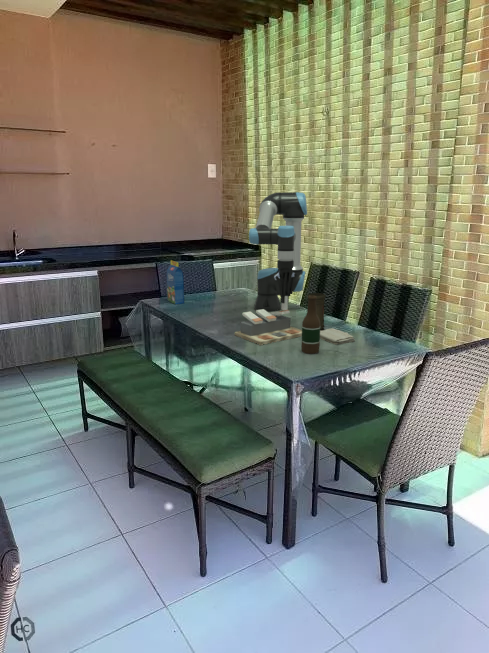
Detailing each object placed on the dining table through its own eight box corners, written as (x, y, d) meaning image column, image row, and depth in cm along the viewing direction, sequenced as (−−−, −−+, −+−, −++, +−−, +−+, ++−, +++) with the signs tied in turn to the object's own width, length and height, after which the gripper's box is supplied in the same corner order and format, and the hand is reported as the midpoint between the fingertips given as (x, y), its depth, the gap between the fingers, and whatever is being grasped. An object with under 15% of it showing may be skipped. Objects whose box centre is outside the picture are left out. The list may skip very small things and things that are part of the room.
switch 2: (276, 315, 245) (275, 310, 245) (289, 315, 237) (288, 309, 237) (269, 317, 243) (268, 312, 243) (282, 316, 235) (281, 311, 235)
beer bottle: (299, 348, 214) (301, 294, 208) (317, 348, 215) (319, 293, 209) (303, 354, 207) (304, 298, 200) (321, 354, 207) (323, 297, 201)
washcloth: (336, 346, 219) (336, 339, 218) (310, 336, 234) (311, 330, 233) (356, 342, 225) (356, 335, 224) (330, 332, 240) (330, 326, 239)
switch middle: (262, 313, 241) (263, 308, 240) (275, 322, 234) (276, 317, 233) (255, 314, 238) (256, 309, 237) (268, 323, 231) (269, 318, 230)
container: (313, 334, 236) (314, 297, 231) (302, 329, 244) (303, 293, 239) (328, 331, 240) (330, 295, 235) (317, 327, 248) (319, 291, 243)
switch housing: (279, 324, 247) (280, 314, 246) (290, 327, 241) (290, 317, 240) (240, 332, 234) (240, 322, 232) (250, 336, 227) (250, 325, 226)
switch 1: (249, 315, 236) (250, 310, 235) (262, 324, 229) (262, 319, 228) (242, 316, 234) (242, 312, 233) (254, 326, 227) (255, 321, 226)
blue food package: (175, 304, 297) (173, 262, 291) (167, 300, 307) (165, 260, 301) (184, 303, 300) (183, 262, 294) (176, 299, 310) (175, 259, 304)
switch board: (280, 325, 250) (280, 322, 250) (307, 334, 235) (307, 331, 234) (234, 335, 235) (234, 331, 234) (260, 345, 219) (260, 341, 218)
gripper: (290, 257, 237) (289, 306, 243) (269, 260, 229) (268, 309, 235) (301, 259, 231) (300, 309, 237) (279, 261, 223) (278, 312, 229)
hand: (284, 309), depth 236 cm, fingers closed
